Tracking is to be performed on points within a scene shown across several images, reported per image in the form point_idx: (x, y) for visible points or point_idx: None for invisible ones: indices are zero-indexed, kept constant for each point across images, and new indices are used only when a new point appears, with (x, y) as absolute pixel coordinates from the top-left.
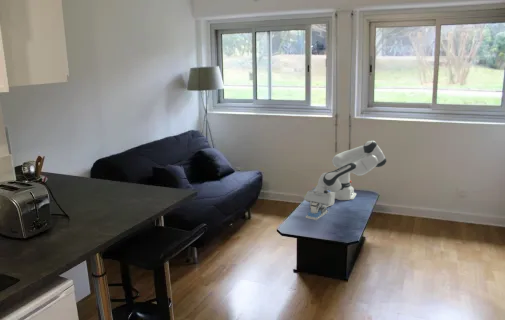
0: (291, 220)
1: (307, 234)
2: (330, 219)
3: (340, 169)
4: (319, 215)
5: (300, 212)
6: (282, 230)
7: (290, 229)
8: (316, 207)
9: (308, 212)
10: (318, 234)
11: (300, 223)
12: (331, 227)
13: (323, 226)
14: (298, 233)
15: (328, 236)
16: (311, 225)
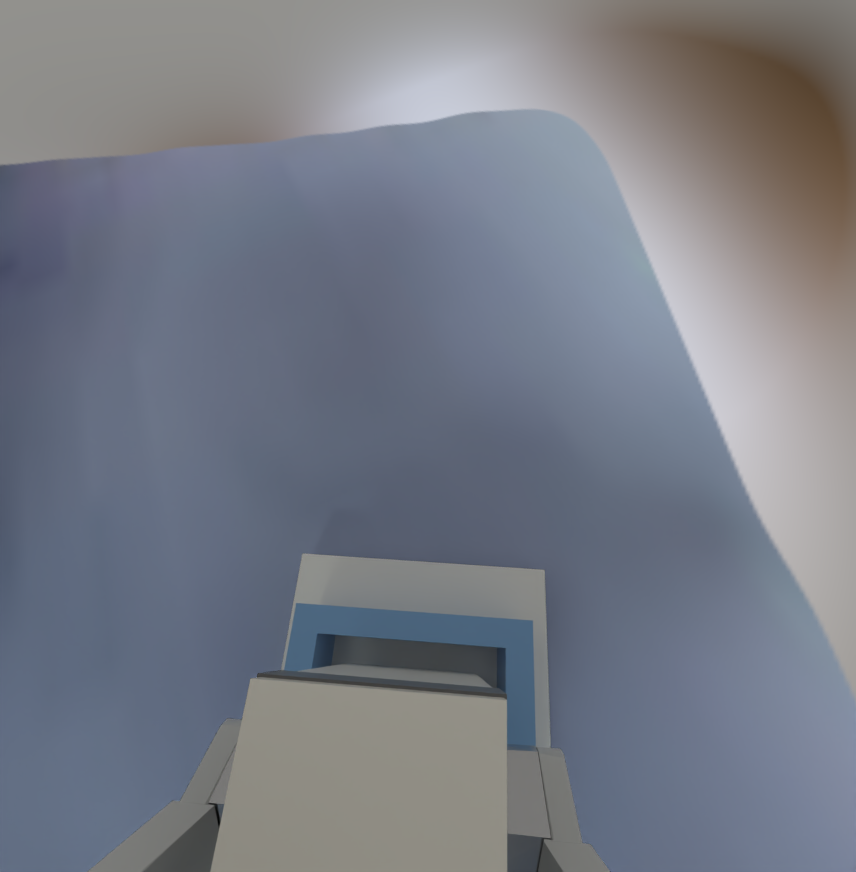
0: (667, 365)
1: (280, 146)
2: (49, 741)
3: None
4: None
5: (830, 848)
6: (560, 117)
7: (501, 160)
8: None
9: (524, 635)
10: (167, 186)
11: (488, 333)
12: (23, 404)
13: (143, 384)
14: (376, 129)
15: (54, 191)
16: (317, 342)
